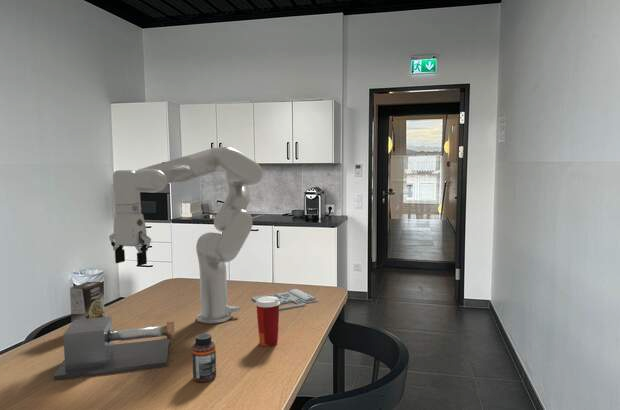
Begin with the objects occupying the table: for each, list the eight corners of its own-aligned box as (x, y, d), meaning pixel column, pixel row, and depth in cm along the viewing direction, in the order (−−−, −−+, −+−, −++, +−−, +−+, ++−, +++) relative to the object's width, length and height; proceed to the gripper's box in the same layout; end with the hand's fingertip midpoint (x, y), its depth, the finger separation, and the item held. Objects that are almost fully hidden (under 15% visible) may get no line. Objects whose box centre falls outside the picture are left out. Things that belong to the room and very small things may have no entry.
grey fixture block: (169, 342, 139) (168, 308, 138) (166, 366, 121) (165, 327, 121) (71, 353, 131) (69, 317, 131) (53, 380, 114) (51, 339, 113)
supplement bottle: (195, 373, 117) (193, 332, 116) (217, 372, 118) (216, 331, 117) (191, 383, 111) (189, 340, 110) (214, 382, 112) (213, 339, 111)
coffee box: (88, 336, 145) (85, 288, 144) (71, 335, 146) (68, 287, 145) (106, 326, 154) (104, 281, 152) (90, 325, 155) (87, 280, 154)
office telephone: (300, 287, 196) (323, 298, 178) (300, 292, 196) (323, 304, 178) (251, 294, 184) (270, 306, 167) (251, 300, 184) (270, 313, 167)
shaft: (174, 335, 133) (174, 318, 132) (174, 341, 128) (173, 324, 127) (95, 343, 127) (94, 326, 127) (91, 350, 122) (90, 332, 122)
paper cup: (284, 339, 139) (283, 296, 138) (275, 349, 132) (274, 303, 131) (262, 337, 142) (261, 294, 141) (251, 346, 135) (250, 301, 134)
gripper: (157, 209, 136) (160, 263, 138) (118, 207, 144) (121, 259, 146) (138, 211, 130) (141, 268, 131) (98, 210, 137) (102, 263, 139)
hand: (131, 263), depth 138 cm, fingers open, 9 cm apart
